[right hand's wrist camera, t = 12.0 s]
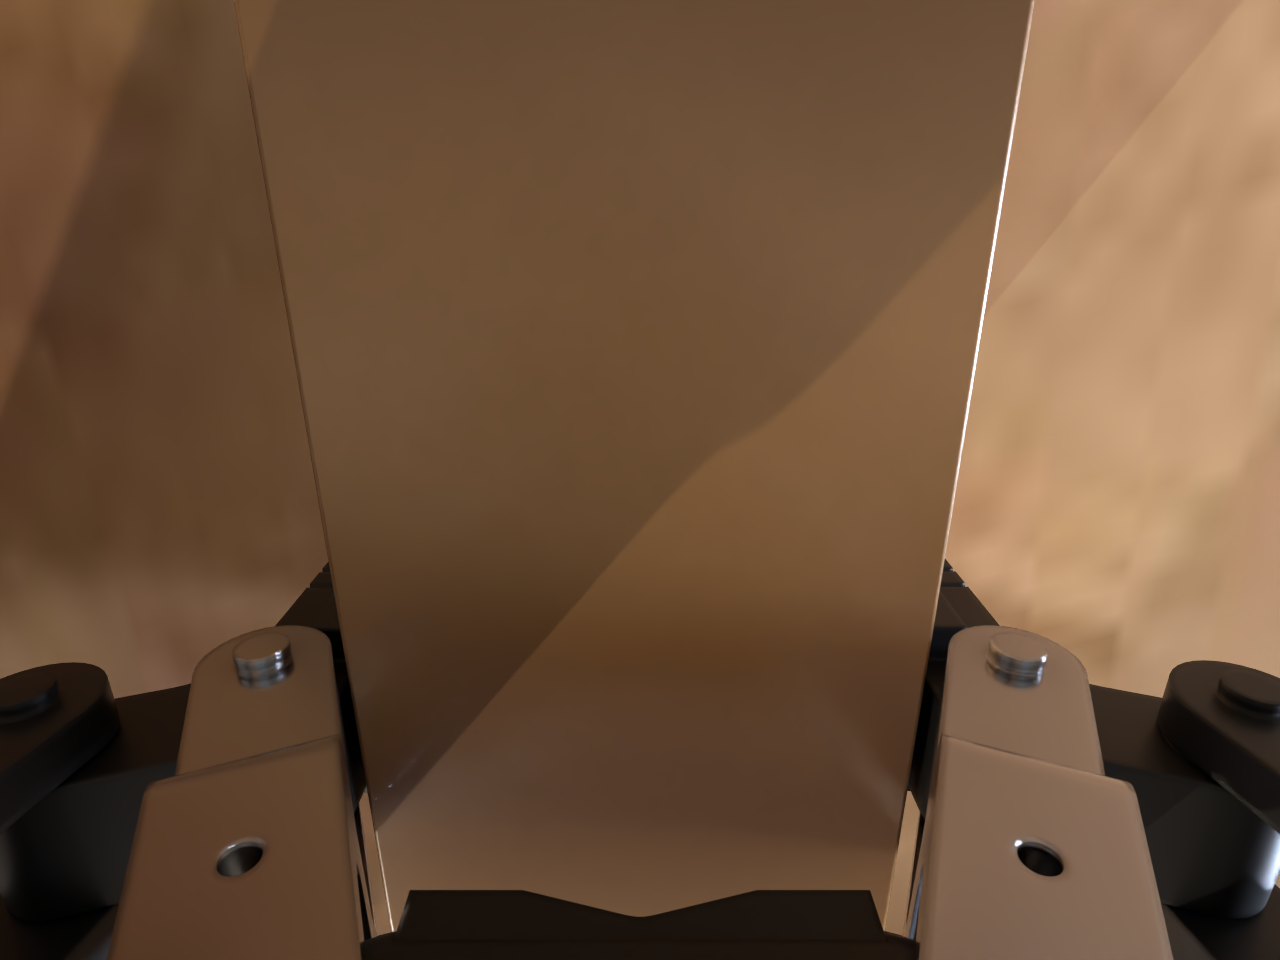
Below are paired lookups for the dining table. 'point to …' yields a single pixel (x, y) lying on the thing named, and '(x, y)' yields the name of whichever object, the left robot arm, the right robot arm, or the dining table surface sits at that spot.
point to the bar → (635, 415)
